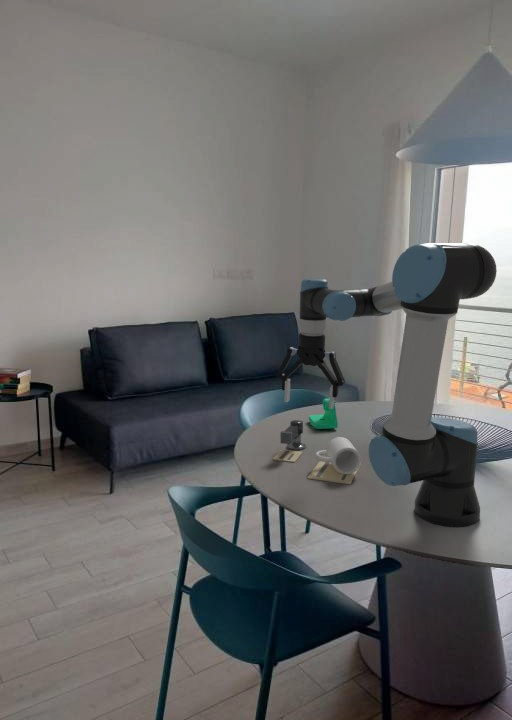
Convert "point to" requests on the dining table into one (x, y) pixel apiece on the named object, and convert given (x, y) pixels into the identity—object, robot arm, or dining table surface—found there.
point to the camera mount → (325, 417)
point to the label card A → (288, 455)
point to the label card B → (330, 474)
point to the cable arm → (292, 432)
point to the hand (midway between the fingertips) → (308, 404)
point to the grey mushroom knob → (296, 444)
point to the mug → (341, 455)
